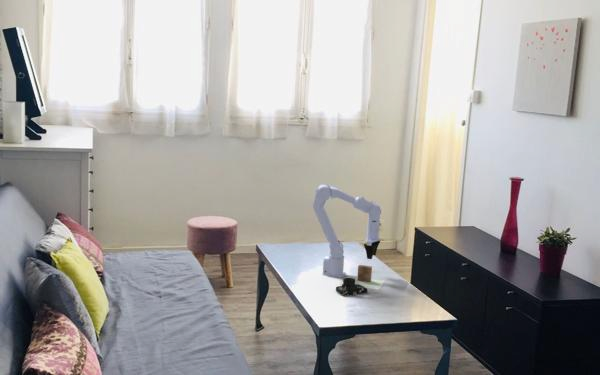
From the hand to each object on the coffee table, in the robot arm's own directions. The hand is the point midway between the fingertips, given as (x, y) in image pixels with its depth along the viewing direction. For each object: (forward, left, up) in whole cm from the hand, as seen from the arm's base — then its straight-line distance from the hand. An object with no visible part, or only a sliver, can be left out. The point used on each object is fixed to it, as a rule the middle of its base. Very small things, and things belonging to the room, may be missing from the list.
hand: (371, 256), depth 301 cm
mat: (-1, -12, -10) cm, 15 cm away
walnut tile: (-1, -9, -9) cm, 13 cm away
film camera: (-3, -26, -10) cm, 28 cm away
